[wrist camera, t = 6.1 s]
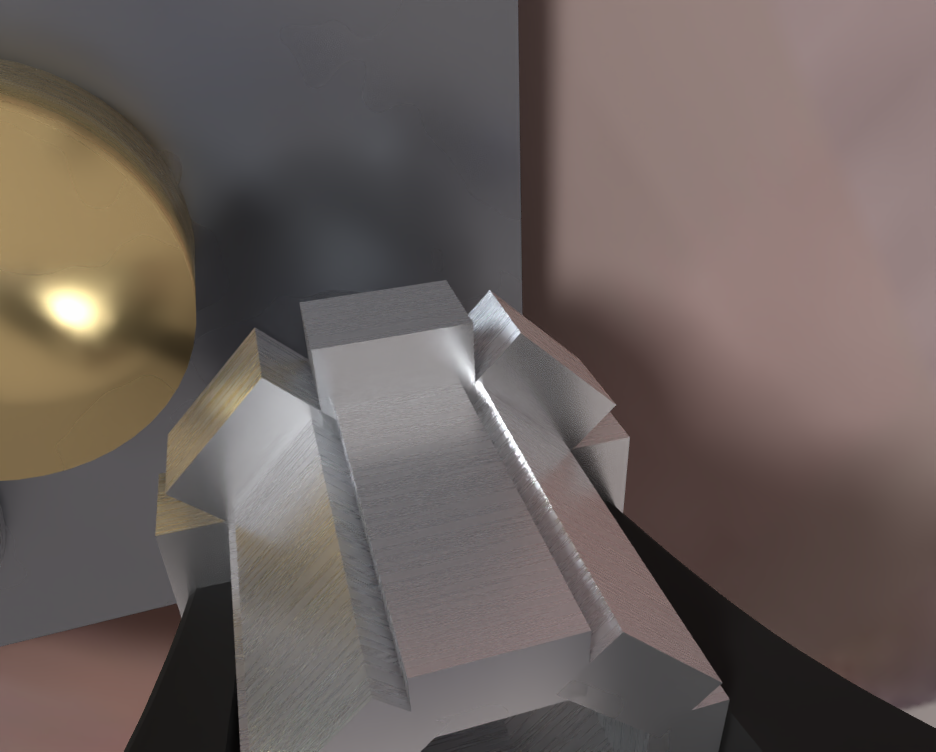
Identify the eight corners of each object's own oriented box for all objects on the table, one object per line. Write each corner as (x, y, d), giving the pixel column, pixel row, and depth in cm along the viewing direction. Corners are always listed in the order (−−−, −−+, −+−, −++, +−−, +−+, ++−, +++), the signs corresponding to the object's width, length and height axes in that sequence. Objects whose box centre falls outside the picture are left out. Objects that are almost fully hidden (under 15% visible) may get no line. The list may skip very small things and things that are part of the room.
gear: (219, 673, 12) (230, 1061, 8) (115, 330, 9) (53, 688, 5) (582, 582, 14) (746, 880, 10) (600, 255, 11) (857, 494, 6)
